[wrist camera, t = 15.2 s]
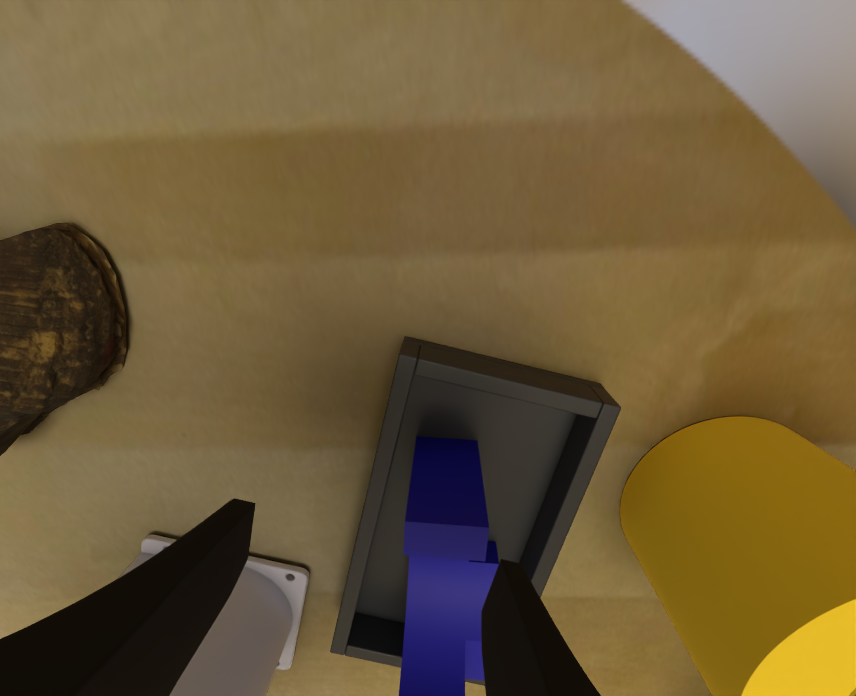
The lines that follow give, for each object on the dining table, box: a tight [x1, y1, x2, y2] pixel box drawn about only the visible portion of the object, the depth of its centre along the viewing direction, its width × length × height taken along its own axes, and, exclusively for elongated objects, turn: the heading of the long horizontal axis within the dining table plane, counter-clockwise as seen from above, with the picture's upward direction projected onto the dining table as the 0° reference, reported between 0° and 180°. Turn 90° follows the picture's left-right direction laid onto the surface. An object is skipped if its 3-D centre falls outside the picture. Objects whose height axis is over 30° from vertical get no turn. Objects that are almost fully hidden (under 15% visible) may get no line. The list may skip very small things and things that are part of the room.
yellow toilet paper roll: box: [620, 416, 856, 696], centre depth 17 cm, size 10×10×9 cm
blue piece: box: [399, 436, 499, 696], centre depth 20 cm, size 12×4×6 cm, turn 177°
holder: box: [330, 337, 621, 686], centre depth 21 cm, size 10×18×3 cm, turn 166°
